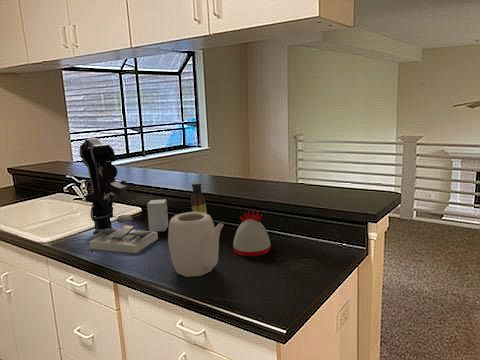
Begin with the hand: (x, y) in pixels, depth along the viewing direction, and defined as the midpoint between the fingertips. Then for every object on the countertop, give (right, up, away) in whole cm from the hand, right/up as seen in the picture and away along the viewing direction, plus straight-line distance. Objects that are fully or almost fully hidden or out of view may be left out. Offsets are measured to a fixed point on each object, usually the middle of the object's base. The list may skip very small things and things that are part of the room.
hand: (108, 213), depth 164 cm
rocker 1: (-1, -8, +1) cm, 8 cm away
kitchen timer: (+58, -12, -13) cm, 61 cm away
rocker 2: (+7, -8, -2) cm, 10 cm away
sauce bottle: (+36, -7, +17) cm, 40 cm away
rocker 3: (+14, -8, -4) cm, 17 cm away
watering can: (+39, -17, -30) cm, 52 cm away
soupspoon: (-8, -6, +38) cm, 39 cm away
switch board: (+7, -12, -1) cm, 14 cm away
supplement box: (+17, -8, +16) cm, 25 cm away
